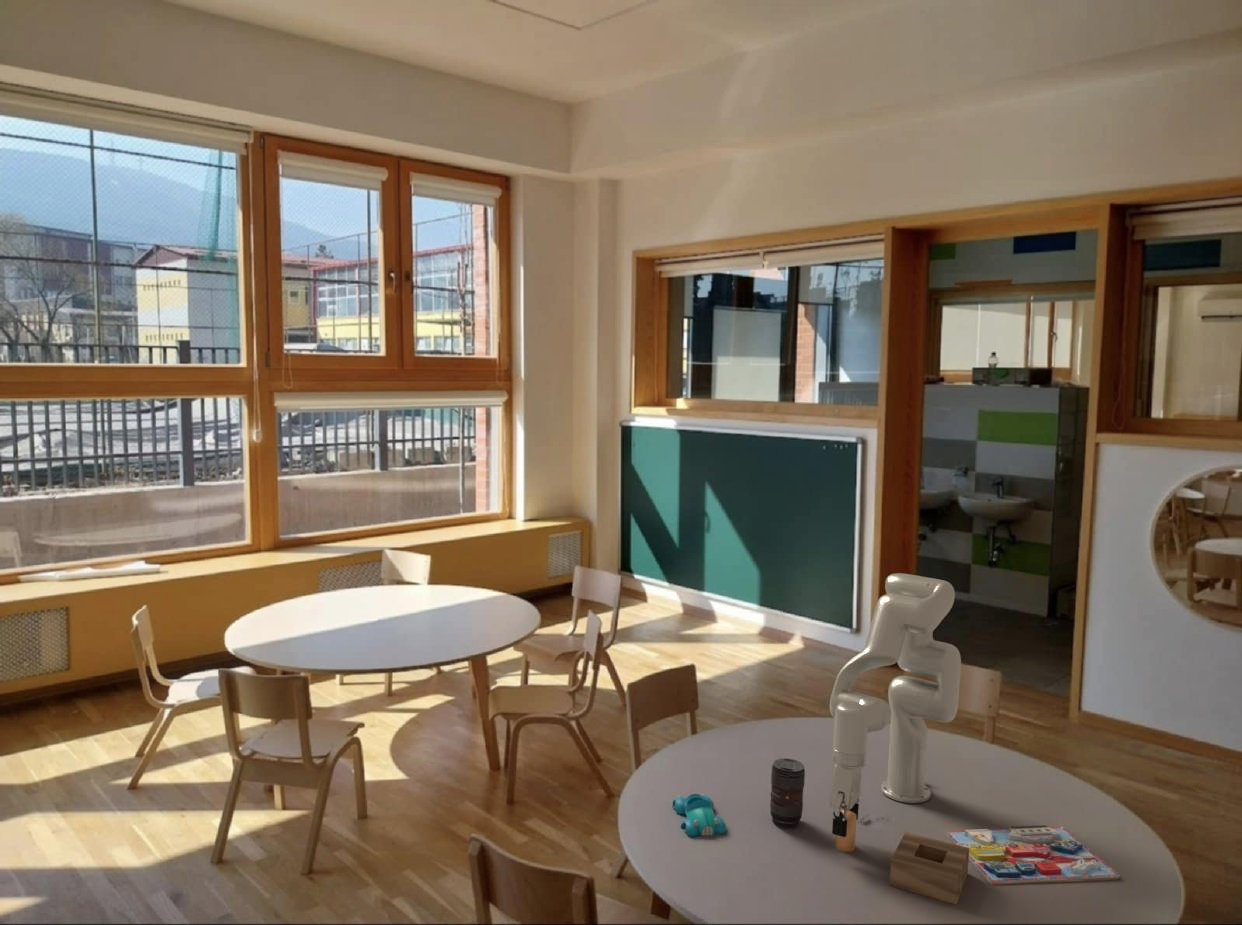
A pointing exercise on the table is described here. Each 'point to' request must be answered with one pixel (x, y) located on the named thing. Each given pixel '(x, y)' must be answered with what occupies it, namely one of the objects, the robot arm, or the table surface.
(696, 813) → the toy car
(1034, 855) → the puzzle board
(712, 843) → the table surface
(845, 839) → the peg
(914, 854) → the socket block
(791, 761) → the camera lens
